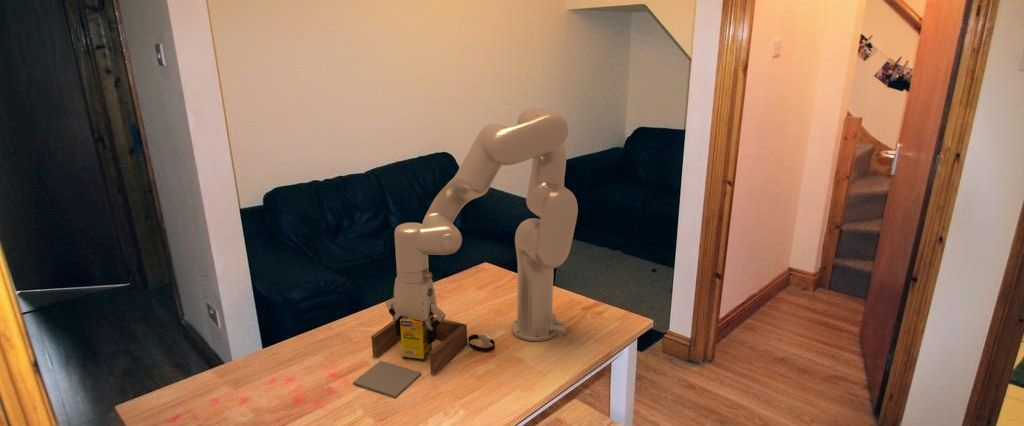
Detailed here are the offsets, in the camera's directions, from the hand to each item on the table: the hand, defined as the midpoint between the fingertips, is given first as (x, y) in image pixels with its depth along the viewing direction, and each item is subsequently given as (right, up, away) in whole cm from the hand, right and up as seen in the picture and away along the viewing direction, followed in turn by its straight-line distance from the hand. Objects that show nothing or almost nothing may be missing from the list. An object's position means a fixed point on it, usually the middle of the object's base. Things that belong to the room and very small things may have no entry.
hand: (416, 337), depth 134 cm
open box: (+1, -4, +3) cm, 5 cm away
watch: (+16, -4, +5) cm, 17 cm away
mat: (-5, -8, -9) cm, 13 cm away
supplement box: (0, -5, +2) cm, 5 cm away
